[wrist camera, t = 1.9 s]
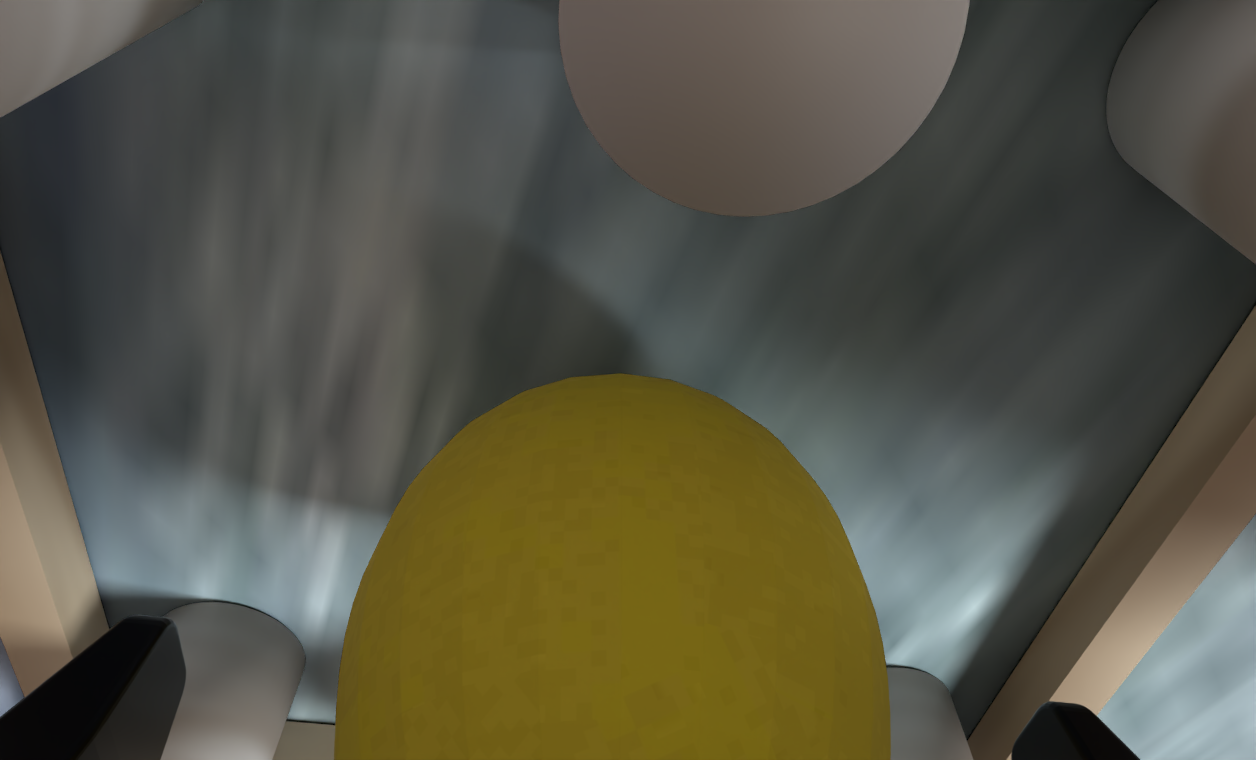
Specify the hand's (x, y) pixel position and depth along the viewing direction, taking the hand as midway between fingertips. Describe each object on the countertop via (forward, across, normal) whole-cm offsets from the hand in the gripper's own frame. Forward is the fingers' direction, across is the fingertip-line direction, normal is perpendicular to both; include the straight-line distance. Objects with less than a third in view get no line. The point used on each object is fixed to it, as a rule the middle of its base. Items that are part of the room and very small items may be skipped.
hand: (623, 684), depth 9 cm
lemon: (+4, 0, 0) cm, 5 cm away
